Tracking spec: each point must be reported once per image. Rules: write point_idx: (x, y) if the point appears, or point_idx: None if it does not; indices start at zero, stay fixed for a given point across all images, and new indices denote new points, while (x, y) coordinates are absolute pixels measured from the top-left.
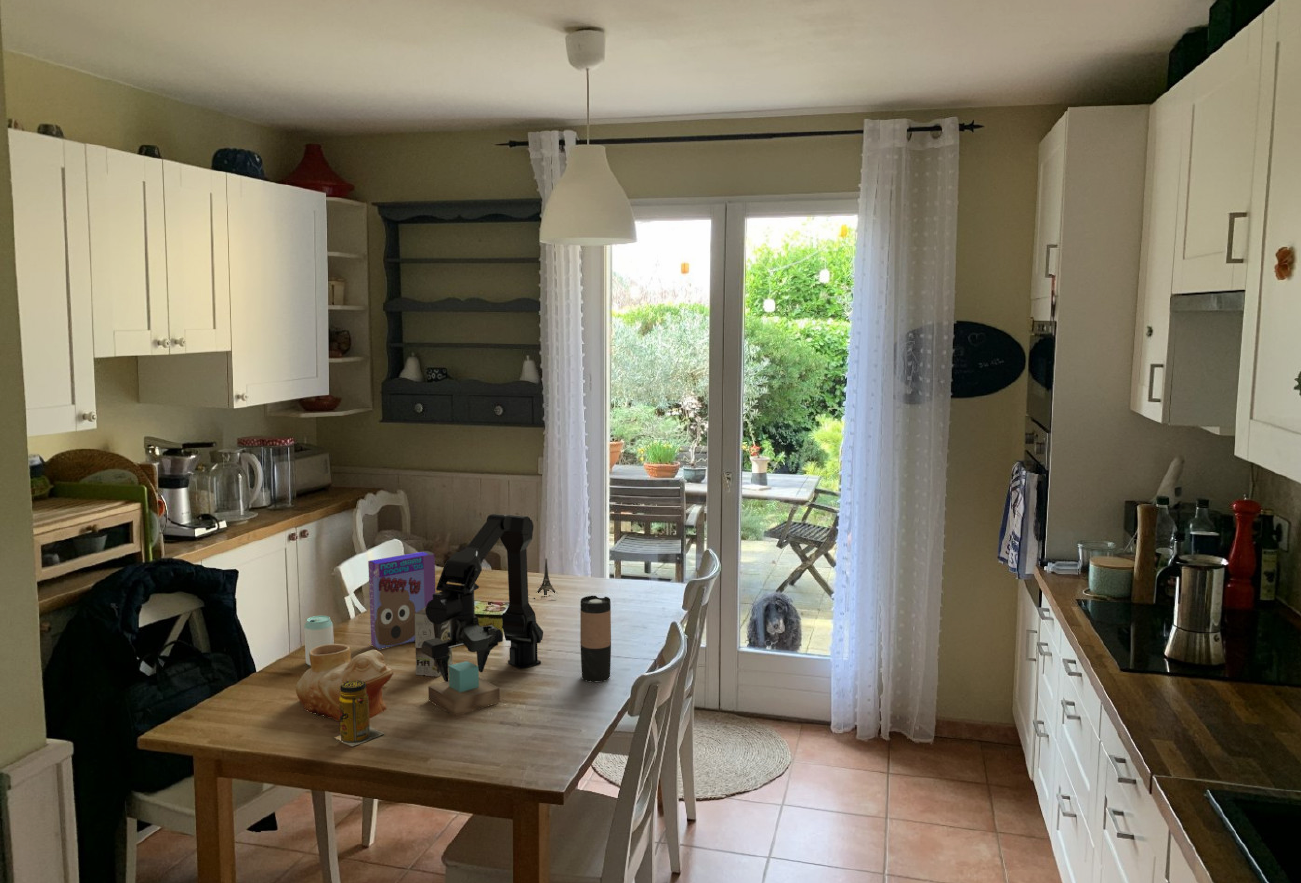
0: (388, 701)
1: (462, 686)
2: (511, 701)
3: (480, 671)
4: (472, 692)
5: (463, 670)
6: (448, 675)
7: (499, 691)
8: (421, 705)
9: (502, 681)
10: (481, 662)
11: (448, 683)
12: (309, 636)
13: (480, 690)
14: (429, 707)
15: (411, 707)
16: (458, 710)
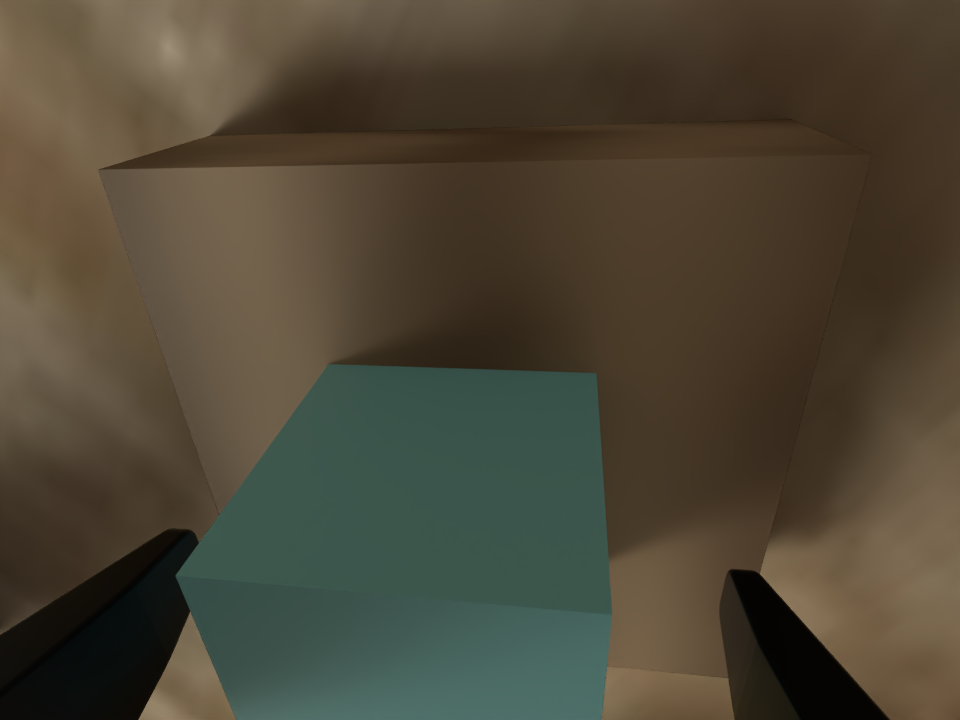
0: (918, 704)
1: (557, 410)
2: (91, 76)
3: (190, 550)
4: (472, 269)
5: (513, 607)
6: (767, 649)
7: (134, 161)
8: (815, 529)
9: (81, 494)
10: (82, 659)
11: None
12: None
13: (353, 259)
14: (801, 461)
15: (903, 547)
16: (751, 128)
